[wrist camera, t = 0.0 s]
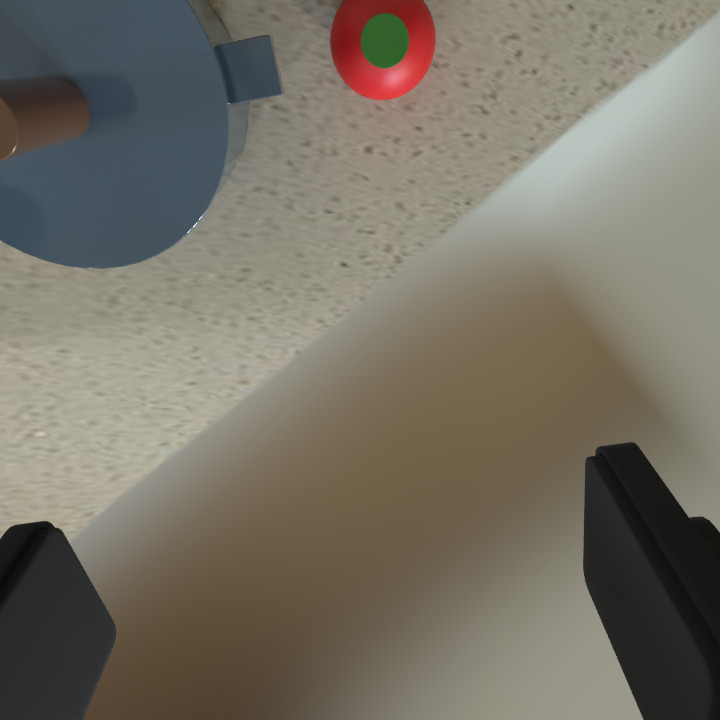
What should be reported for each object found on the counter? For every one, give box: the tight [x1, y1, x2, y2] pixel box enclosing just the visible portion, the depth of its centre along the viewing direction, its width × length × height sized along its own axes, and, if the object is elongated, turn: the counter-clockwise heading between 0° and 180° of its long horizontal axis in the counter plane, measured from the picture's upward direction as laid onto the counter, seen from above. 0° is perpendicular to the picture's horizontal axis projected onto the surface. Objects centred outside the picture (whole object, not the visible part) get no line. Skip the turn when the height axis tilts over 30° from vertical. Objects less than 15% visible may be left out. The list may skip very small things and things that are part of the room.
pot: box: [189, 0, 284, 194], centre depth 28 cm, size 14×19×8 cm
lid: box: [0, 0, 231, 269], centre depth 23 cm, size 15×15×7 cm
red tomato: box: [330, 0, 435, 100], centre depth 28 cm, size 5×5×5 cm
